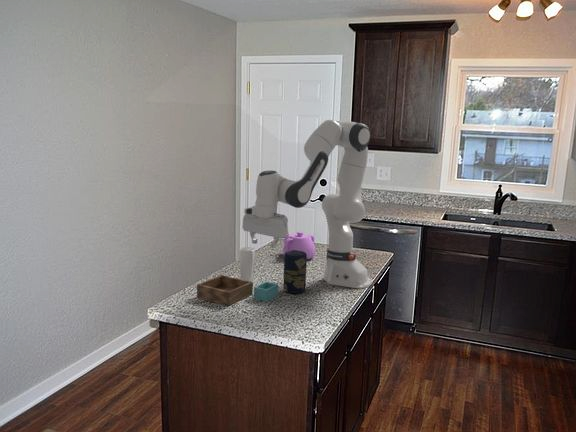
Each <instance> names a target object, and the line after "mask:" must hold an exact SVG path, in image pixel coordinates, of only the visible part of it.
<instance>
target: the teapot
mask: <svg viewBox="0 0 576 432" xmlns="http://www.w3.org/2000/svg"><path fill="white" fill-rule="evenodd" d="M283 240H284V245H283V249H282V254H283V256H284V255H285V253H286V252H287V251H292V250H297V251H303V252H305V253H306V254H307V260H311V259H312V258H313V257H314V256H315V255H316V247H315V244H314V243H315V237H314V236H313V235H312V234H304V232H303V231H297V232H296V233H294V234H291V235H290V233H289V231H288V235H287V237H286V238H283Z"/></svg>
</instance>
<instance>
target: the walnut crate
mask: <svg viewBox="0 0 576 432" xmlns="http://www.w3.org/2000/svg"><path fill="white" fill-rule="evenodd" d="M253 284H254V281H246V280H242V279H240V278H237V277H233V276H229V275H224V274H221V275H217V276H216V277H213V278H210V279H208V280H205V281H203V282H201V283H198V284H197V285H196V286H197V287H196V299H200V300H204V301H209V302H212V303H215V304H219V305H223V306H226V307H227V306H228V307H232V306H233V305H235V304H236V303H239V302H240V301H241V302H242V301H243V300H244V299H247V298H248V297H251V296H253V294H254V286H253Z"/></svg>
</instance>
